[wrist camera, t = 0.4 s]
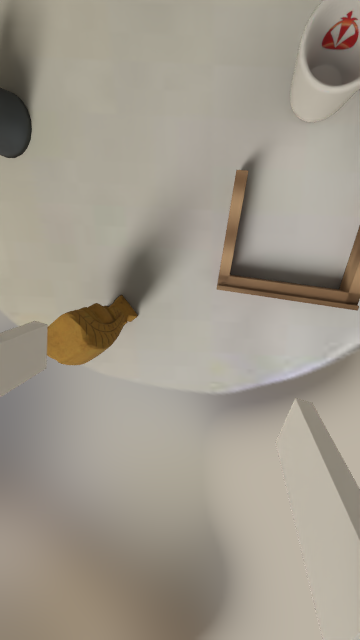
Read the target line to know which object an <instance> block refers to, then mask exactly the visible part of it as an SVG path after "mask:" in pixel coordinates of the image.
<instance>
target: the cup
mask: <svg viewBox="0 0 360 640" xmlns="http://www.w3.org/2000/svg"><path fill="white" fill-rule="evenodd" d="M358 90H360V0H323V1H322V2H321V3H320V4H319V5H318V6H317V8H316V9H315V10H314V12H313V13H312V15H311V17H310V18H309V20H308V22H307V24H306V27H305V29H304V32H303V34H302V38H301V41H300V46H299V51H298V55H297V60H296V65H295V69H294V74H293V79H292V84H291V90H290V102H291V106H292V109H293V111H294V113H295V114H296V116H297V117H298V118H300V119H301V120H303V121H306V122H318V121H321V120H324V119H326V118H328V117H330V116H331V115H333V114H334V113H335V112H336V111H338V110H339V109H340V108H341V107H342V106H343V105H344V104H345V103H346V102H347V101H348V100H349V99H350V98H351V97H352V96H353V95H354V94H355V93H356V92H357V91H358Z"/></svg>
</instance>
